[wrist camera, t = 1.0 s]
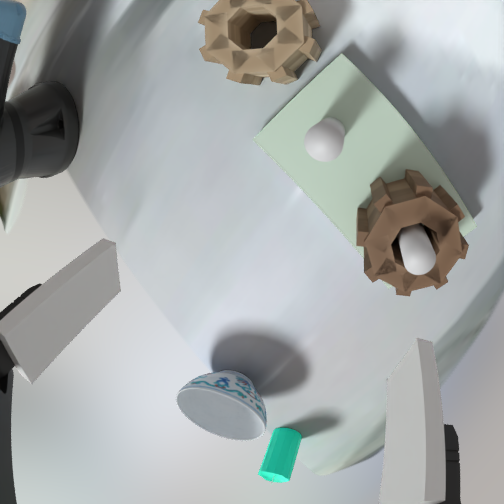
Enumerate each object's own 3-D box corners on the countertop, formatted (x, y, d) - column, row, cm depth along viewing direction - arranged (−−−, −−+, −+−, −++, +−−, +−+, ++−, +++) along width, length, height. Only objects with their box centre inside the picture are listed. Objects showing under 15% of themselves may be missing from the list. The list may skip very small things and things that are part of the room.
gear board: (257, 137, 29) (219, 154, 21) (342, 55, 23) (338, 35, 15) (387, 280, 32) (393, 339, 24) (472, 220, 26) (506, 266, 18)
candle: (293, 426, 52) (277, 479, 42) (306, 440, 53) (292, 490, 43) (267, 428, 55) (249, 477, 45) (281, 441, 56) (266, 488, 46)
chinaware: (221, 407, 55) (206, 437, 49) (180, 355, 50) (159, 387, 44) (291, 406, 48) (279, 442, 42) (254, 347, 44) (236, 387, 37)
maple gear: (205, 46, 26) (175, 39, 21) (267, -18, 21) (248, -40, 16) (273, 104, 27) (255, 105, 22) (342, 38, 22) (340, 24, 17)
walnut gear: (341, 236, 30) (337, 267, 25) (386, 152, 25) (395, 165, 20) (417, 277, 29) (426, 312, 24) (466, 202, 24) (488, 227, 19)
